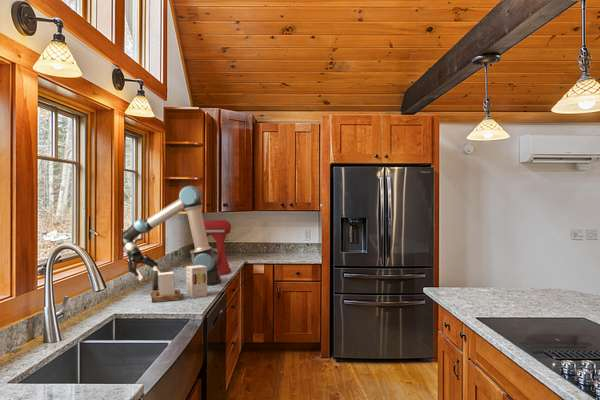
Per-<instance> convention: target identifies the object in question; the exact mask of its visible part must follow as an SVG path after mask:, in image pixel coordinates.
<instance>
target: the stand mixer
mask: <svg viewBox="0 0 600 400" xmlns="http://www.w3.org/2000/svg"><path fill="white" fill-rule="evenodd" d="M203 222H204V226H205V231H206V235H207V238H208V237H209V236H210V235H211V236H212V238H213V239H214V240H215V243H216V249H217V250H218V272H219V275H220V276H224V275H229V274H231V273H232V268H231V267H230V264H229V261H228V258H227V256H226V250H225V249H226V248H225V240H226V237H227V235H228V234H231V229H232V224H231V222H230V221H229V220H226V219H220V220H219V219H217V220H215V219H211V220H207V219H206V220H203ZM194 250H195V249H191V250H189V253H190V255H191V257H190V258H191V263H192V266H194V259H195V258H194V253H193V251H194Z"/></svg>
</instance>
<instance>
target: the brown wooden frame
mask: <svg viewBox="0 0 600 400" xmlns="http://www.w3.org/2000/svg"><path fill="white" fill-rule="evenodd" d="M151 274H152V275H151V279H152V281H151V282H152V288H151V291H150V296H151V303H157V302H158V303H159V302H168V301H169V302H170V301H178V300H179V301H180V300H182V297H181V296H182V295H181V289H179V288H178V289H175V295H167V296H160V294H159V277H158V271H153V270H152V272H151Z"/></svg>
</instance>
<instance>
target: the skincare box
mask: <svg viewBox="0 0 600 400" xmlns="http://www.w3.org/2000/svg"><path fill="white" fill-rule="evenodd" d="M158 276H159V277H158V289H159V294H160V296H167V295H175V290H176V288H175V272H174V271H166V272H160V273H159V275H158Z"/></svg>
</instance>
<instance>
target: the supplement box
mask: <svg viewBox="0 0 600 400" xmlns="http://www.w3.org/2000/svg"><path fill="white" fill-rule="evenodd" d="M185 284H186V285H185V286H186V287H185V288H186V289H185V292H186V293H185V295H186V296H187V297H190V298H191V299H194V298H199V297H206V296H208V285H207V267H206V266H203V265H195V266H194V265H187V266H186V267H185Z"/></svg>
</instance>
